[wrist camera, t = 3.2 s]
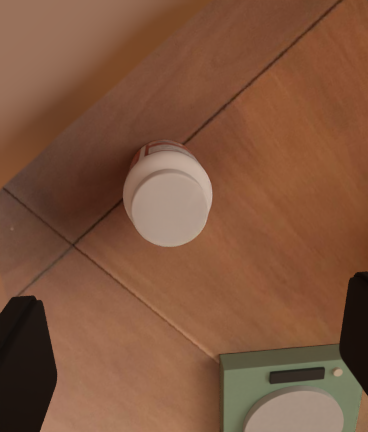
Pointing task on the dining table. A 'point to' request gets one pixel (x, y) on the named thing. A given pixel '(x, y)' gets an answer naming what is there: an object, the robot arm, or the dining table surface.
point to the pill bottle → (167, 193)
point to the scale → (288, 391)
